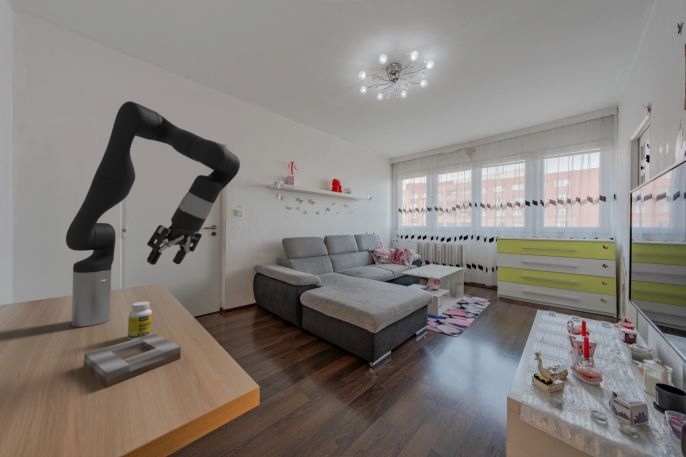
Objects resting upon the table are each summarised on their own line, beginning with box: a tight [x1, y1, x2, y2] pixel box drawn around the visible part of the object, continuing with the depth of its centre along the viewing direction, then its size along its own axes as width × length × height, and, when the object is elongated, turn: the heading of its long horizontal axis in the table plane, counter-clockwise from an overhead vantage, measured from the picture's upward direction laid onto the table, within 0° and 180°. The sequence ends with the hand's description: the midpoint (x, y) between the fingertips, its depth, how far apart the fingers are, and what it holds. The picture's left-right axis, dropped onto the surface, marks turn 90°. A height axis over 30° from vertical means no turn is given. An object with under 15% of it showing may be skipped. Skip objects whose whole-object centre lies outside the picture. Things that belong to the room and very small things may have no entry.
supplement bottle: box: [127, 301, 153, 341], centre depth 76 cm, size 5×5×10 cm
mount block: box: [83, 333, 182, 388], centre depth 61 cm, size 14×14×3 cm
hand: (163, 263), depth 71 cm, fingers open, 8 cm apart
